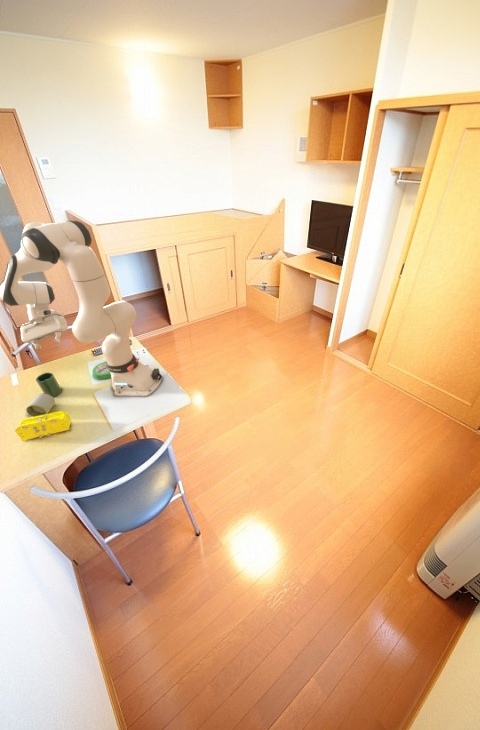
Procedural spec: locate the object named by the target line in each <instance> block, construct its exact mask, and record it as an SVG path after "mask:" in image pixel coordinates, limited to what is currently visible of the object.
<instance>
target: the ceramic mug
mask: <svg viewBox="0 0 480 730" xmlns="http://www.w3.org/2000/svg"><path fill="white" fill-rule="evenodd" d="M55 399H56V398H55V397H52V396H51V395H49V394H45V393H44V392H43V393H39V394H38V395H36V396H35V397H34V398H33V400H32V401H31V402H30V403H29V404H28V405H26V407H25V414H26V415H28V416H30V417H36V416H40V415H45V414H49V413H50V411H51V410H52V408H53V407H54V405H55V402H56V400H55Z"/></svg>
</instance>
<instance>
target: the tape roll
mask: <svg viewBox="0 0 480 730" xmlns="http://www.w3.org/2000/svg"><path fill="white" fill-rule="evenodd" d="M106 368H107V365H106V361H103V362H101V363H98V364H97V365H95V366H94V367H93V369H92V375H93V377H94V378H95V379H96V380H107V379H110V378H111V373H110V371H109V370H107V371H106V372H100V371H102V370H104V369H106ZM107 369H108V368H107Z"/></svg>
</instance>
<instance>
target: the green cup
mask: <svg viewBox="0 0 480 730" xmlns="http://www.w3.org/2000/svg"><path fill="white" fill-rule="evenodd" d="M35 381H36V383H37V384H38V386H39V388H40V389H41V391H42V392H43V393H45V394H49V395H51V396H52V397H53V398H55V397H57V396H59V395H60V394H61V393H62V387H61V386H60V384H59V382H58V380H57V379H56V377H55V376H54V374H53V373H52V372H43V373H42V374H39V375H38V376H37V377H36V378H35Z"/></svg>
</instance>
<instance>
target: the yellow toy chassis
mask: <svg viewBox="0 0 480 730" xmlns="http://www.w3.org/2000/svg"><path fill="white" fill-rule="evenodd" d="M71 422H72V419H71V417H70V415H69V414H68V412H67V411H62V410H59V411H54V412H49V413H48V414H45V415H40V416H36V417H32V416H30V417H27V418H23V420H21V421H20V422H19V425H18V426H17V427H15V429H14V432H15V433H16V435H17V436H18V438H19V439H20V440H21V441H27V440H33V439H36V438H39V439H43V438H44V437H43V436H47V437H51V435H53V434H57V433H62V432H65V431H69V430H70V425H71Z"/></svg>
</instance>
